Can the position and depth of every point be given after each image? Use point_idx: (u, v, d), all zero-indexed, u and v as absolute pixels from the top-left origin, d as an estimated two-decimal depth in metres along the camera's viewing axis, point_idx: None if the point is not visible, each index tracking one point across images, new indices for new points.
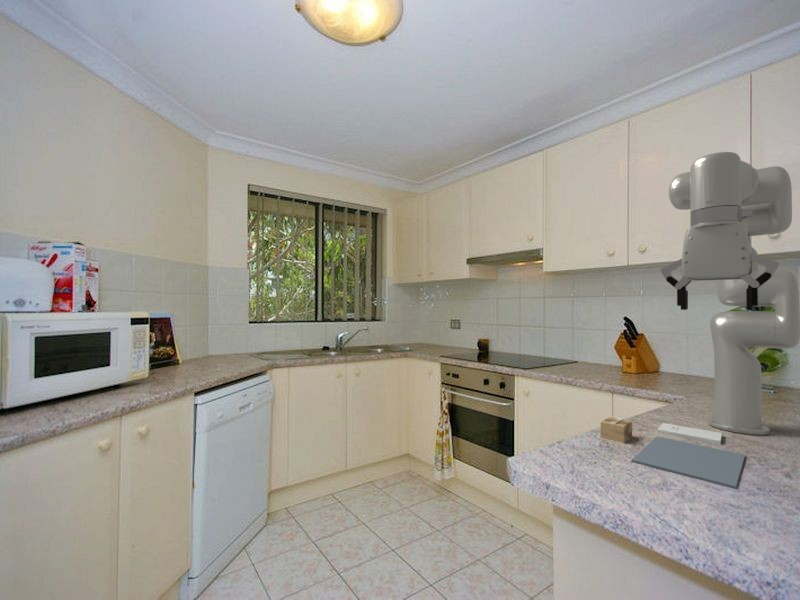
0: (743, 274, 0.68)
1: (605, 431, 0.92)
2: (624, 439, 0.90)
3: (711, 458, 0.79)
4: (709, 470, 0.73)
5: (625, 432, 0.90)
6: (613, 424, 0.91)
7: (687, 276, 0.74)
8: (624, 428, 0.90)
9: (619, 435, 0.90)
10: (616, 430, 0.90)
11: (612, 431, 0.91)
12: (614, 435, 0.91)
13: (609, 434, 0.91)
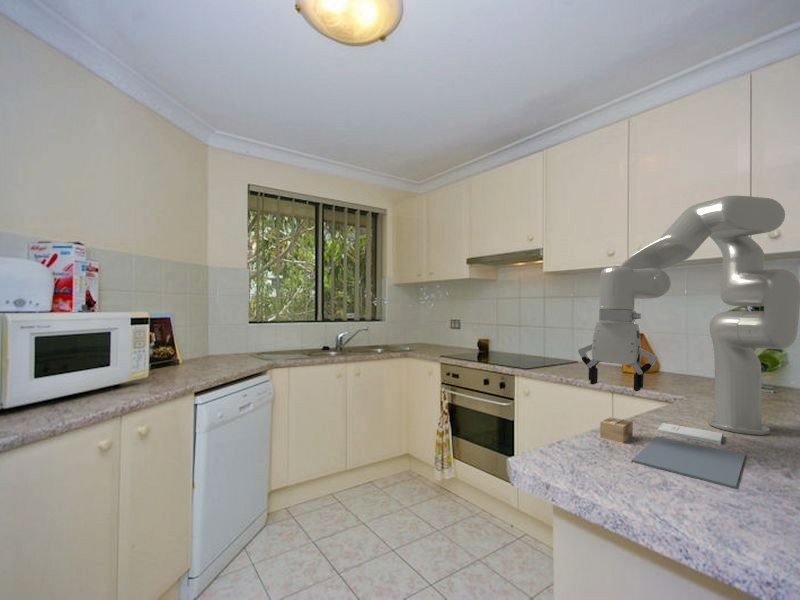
0: (632, 363, 0.90)
1: (605, 431, 0.92)
2: (624, 439, 0.90)
3: (711, 458, 0.79)
4: (709, 470, 0.73)
5: (625, 432, 0.90)
6: (613, 424, 0.91)
7: (595, 359, 0.95)
8: (624, 428, 0.90)
9: (618, 435, 0.90)
10: (615, 430, 0.90)
11: (612, 431, 0.91)
12: (614, 435, 0.91)
13: (609, 434, 0.91)
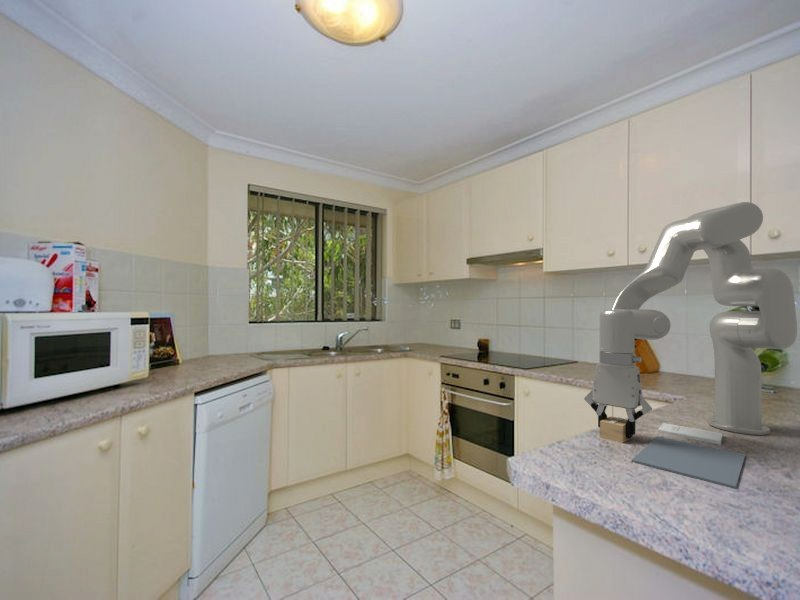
0: (633, 407, 0.89)
1: (604, 430, 0.92)
2: (623, 438, 0.90)
3: (711, 458, 0.79)
4: (709, 470, 0.73)
5: (625, 432, 0.90)
6: (612, 423, 0.91)
7: (596, 401, 0.95)
8: (623, 427, 0.90)
9: (618, 434, 0.90)
10: (615, 429, 0.90)
11: (611, 430, 0.91)
12: (613, 434, 0.91)
13: (608, 433, 0.91)
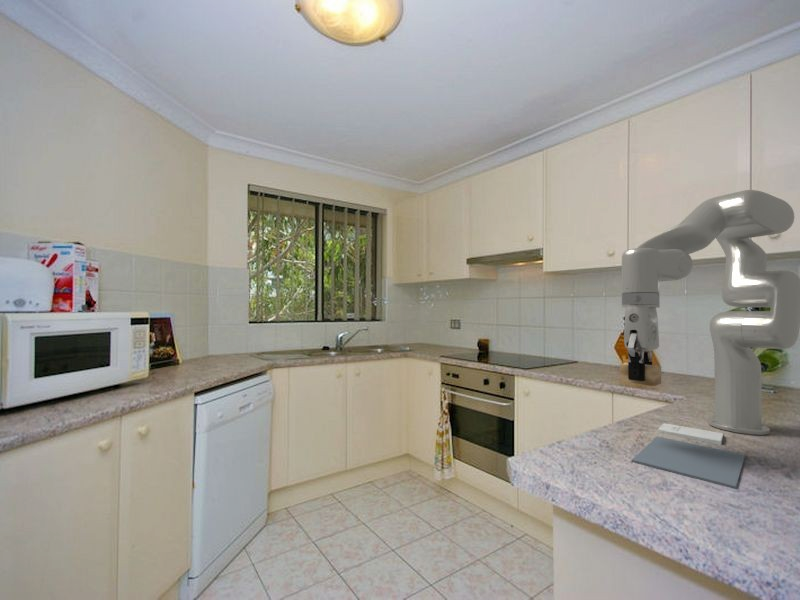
0: None
1: None
2: (622, 377, 0.90)
3: (711, 458, 0.79)
4: (709, 470, 0.73)
5: (627, 372, 0.89)
6: (624, 363, 0.91)
7: None
8: (622, 366, 0.90)
9: None
10: None
11: None
12: None
13: None
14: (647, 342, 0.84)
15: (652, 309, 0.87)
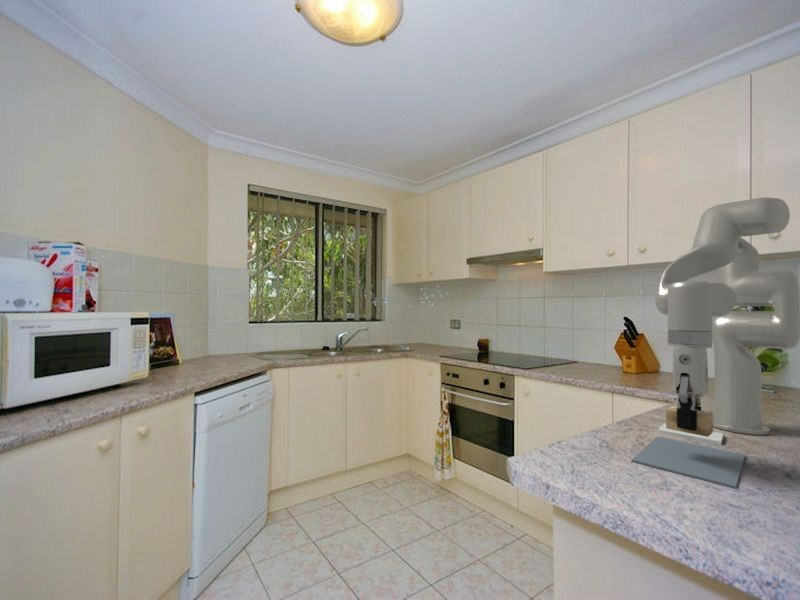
0: (674, 391, 0.79)
1: None
2: (669, 424, 0.80)
3: (711, 458, 0.79)
4: (709, 470, 0.73)
5: (675, 419, 0.80)
6: (670, 408, 0.82)
7: None
8: (669, 412, 0.80)
9: None
10: None
11: None
12: None
13: None
14: (701, 388, 0.75)
15: (704, 349, 0.78)
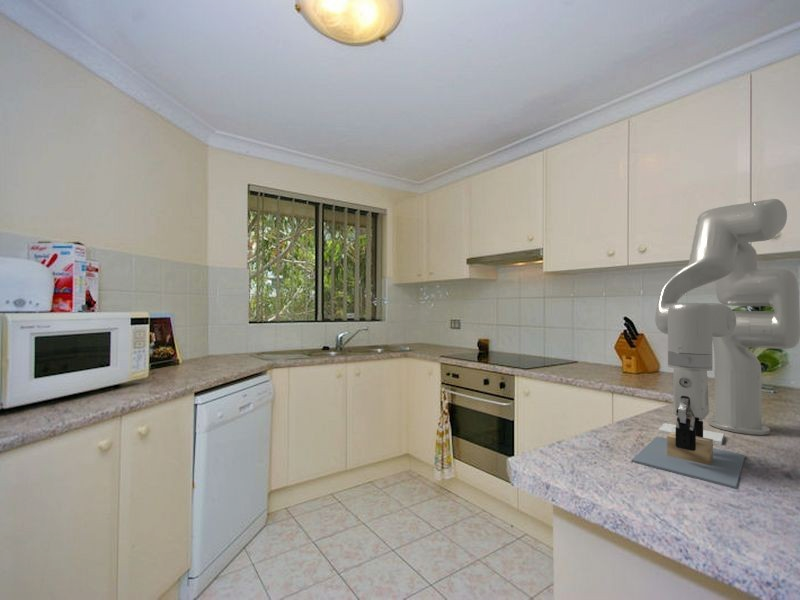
0: (675, 414, 0.79)
1: None
2: (671, 451, 0.80)
3: None
4: (709, 470, 0.73)
5: None
6: (670, 434, 0.82)
7: None
8: (670, 439, 0.80)
9: None
10: None
11: None
12: None
13: None
14: (701, 411, 0.75)
15: (705, 372, 0.78)
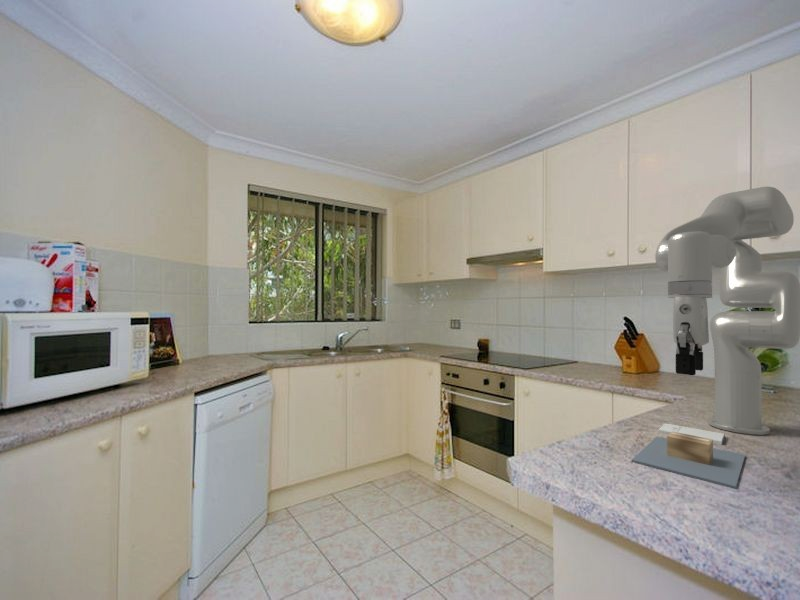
0: (675, 341, 0.79)
1: None
2: (671, 451, 0.80)
3: None
4: (709, 470, 0.73)
5: (676, 446, 0.80)
6: (670, 434, 0.82)
7: None
8: (670, 439, 0.80)
9: None
10: None
11: None
12: None
13: None
14: (701, 336, 0.76)
15: (705, 299, 0.78)
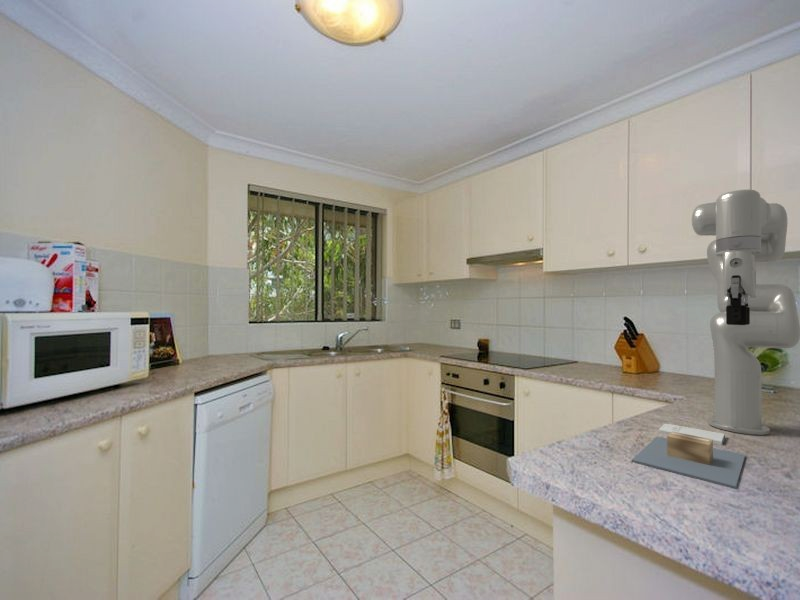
0: (725, 295, 0.83)
1: None
2: (671, 451, 0.80)
3: None
4: (709, 470, 0.73)
5: (676, 446, 0.80)
6: (670, 434, 0.82)
7: None
8: (670, 439, 0.80)
9: None
10: None
11: None
12: None
13: None
14: (752, 287, 0.79)
15: (754, 254, 0.82)
